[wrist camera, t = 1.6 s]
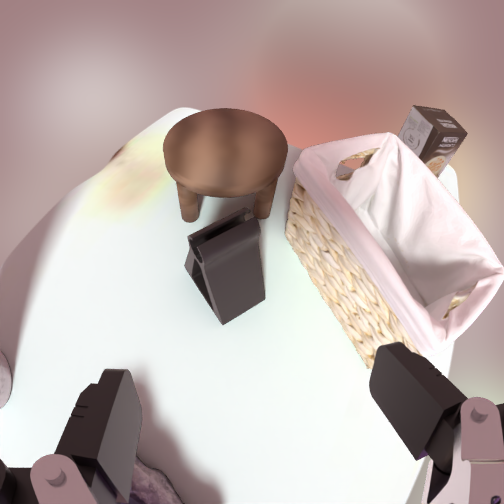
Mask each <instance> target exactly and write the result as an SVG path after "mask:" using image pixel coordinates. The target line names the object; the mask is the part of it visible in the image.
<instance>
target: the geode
mask: <svg viewBox="0 0 504 504" xmlns="http://www.w3.org/2000/svg"><path fill="white" fill-rule="evenodd" d="M116 504H184V503H183V502H182V501H181V499H180V498H179V496H178V495H177V493H176V492H175V491H174V489H173V486H172V484H171V483H170V481H169V479H168V478H167V476H166V475H165V474H164V473H163V472H162V471H160V470H158V469H150V468H148V467H147V466H145V465H144V464H143V463H142V462H141V461H140V459H139V458H138V457H137V456H136V457H135V463H134V469H133V475H132V482H131V488H130V496H129V503H121V502H116Z"/></svg>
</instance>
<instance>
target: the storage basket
mask: <svg viewBox="0 0 504 504" xmlns="http://www.w3.org/2000/svg"><path fill="white" fill-rule="evenodd" d="M357 158H364V161H363V162H362V164H361V166H360V168H358V169H356V170H355V171H354V172H352V173H349V174H344V175H340V176H338V177H336V170H337V167H338V165H339V163H340V162H342V164H344V163H345V162H344V161H345V160H349V159H357ZM293 173H294V174H295V176H296V178H295V183H294V188H293V192H292V197H291V199H290V210H289V211H288V220H287V223H286V230H285V235H286V238H287V240H288V241H289V243H290V244H291V246H292V248H293V250H294V252H295V253H296V254H297V255H298V257H299V259H300V261H301V263H302V265H303V266H304V267H305V269H306V270H307V271H308V273H309V276H310V278H311V280H312V282H313V284H314V285H315V286H316V287H317V288H318V290H319V292H320V294H321V296H322V298H323V299H324V301H325V302H326V303H327V305H328V306H329V307H330V308H331V310H332V312H333V314H334V315H335V317H336V318H337V320H338V321H339V322H340V323H341V325H342V327H343V330H344V331H345V333H346V334H347V336H348V337H349V339H350V340H351V341H352V343H353V344H354V346H355V348H356V351H357V352H358V353H359V354H360V356H361V358H362V359H363V361H364V363H365V364H366V366H367V367H366V368H367V369H369V368H370V369H373V364H374V360H375V355H376V351H377V349H378V347H379V346H381V345H385V344H390V343H394V342H398V341H399V342H402V343H403V344H404V345H405V346H406V347H407V348H408V349H409V350H410V351H411V352H415V353H417V354H419V355H421V356H430V355H431V356H432V355H435V354H436V353H438V352H439V351H442V350H444V349H445V348H446V347H447V346H449V345H450V344H451V343H452V342H453V341H454V340H455V339H456V338H458V337H459V336H460V335H461V334H462V333H463V332H464V331H465V330H466V329H467V328H468V327H469V326H470V325H471V324H472V323H473V321H475V319H476V318H477V317H478V316H479V315H480V313H481V312H482V311H483V310H484V309H485V307H486V306H487V305H488V303H489V302H490V301H491V299H492V298H493V297H494V295H495V294H496V292H497V290H498V289H499V287H500V285H501V284H502V282H503V280H504V267H503V266H502V264H501V263H500V261H499V259H498V258H497V256H496V255H495V253H494V251H493V250H492V248H491V246H490V245H489V243H488V242H487V240H486V239H485V237H484V236H483V234H482V233H481V232H480V231H479V229H478V227H477V226H476V225H475V223H474V222H473V221H472V220H471V219H470V217H469V216H468V214H467V213H466V212H465V211H464V209H463V208H462V207H461V206H460V204H459V203H458V202H457V201H456V200H455V198H454V197H453V196H452V195H451V194H450V192H449V191H448V190H447V189H446V188H445V187H444V186H443V184H442V183H441V182H440V181H439V180H438V179H437V177H436V176H435V175H434V174H433V173H432V172H431V171H430V170H429V168H428V167H427V166H426V165H425V164H424V163H423V162H422V161H421V160H420V159H419V158H418V157H417V156H416V155H415V153H414V152H413V151H412V150H411V149H410V148H409V147H408V146H407V145H405V144H404V143H403V142H402V141H401V140H400V139H399V138H398V137H397V136H396V135H395V134H393V133H390V132H386V133H377V134H369V135H363V136H357V137H353V138H347V139H342V140H336V141H331V142H327V143H323V144H318V145H314V146H310V147H308V148H305V149H303V151H302V152H301V154H300V156H299V159H298V160H297V161H296V162H295V164H294V166H293Z"/></svg>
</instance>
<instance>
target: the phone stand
mask: <svg viewBox="0 0 504 504" xmlns="http://www.w3.org/2000/svg"><path fill="white" fill-rule="evenodd" d="M249 212H250V210H249V209H248V208H243V209H241V210H239V211H237V212H235V213H233V214H231V215H229V216H227V217H225V218H223V219H221V220H219V221H217V222H215V223H213V224H211V225H209V226H207V227H205V228H203V229H201V230H199V231H197V232H195V233H193V234H191V235H189V236H188V242H189V246H190V250H189V253H188V256H187V259H186V262H185V265H184V266H185V268H186V270H187V272H188V273H189V275H190V276H191V278H192V279H193V281H194V283H195V284H196V286H197V287H198V289H199V290H200V292H201V294H202V295H203V296H204V298H205V300H206V301H207V303H208V304H209V306H210V307H211V309H212V310H213V312H214V313H215V315H216V316H217V318H218V319H219V321H220V322H221V324H222V325H224V324H226V323H228V322H229V321H231V320H232V319H234V318H236V317H237V316H239V315H241V314H242V313H244V312H246V311H247V310H249V309H250V308H252V307H254V306H255V305H257V304H258V303H260V302H262V301H263V300H265V293H264V285H263V277H262V269H261V261H260V254H259V246H258V239H259V236H260V226H259V223H258V220H257V218H256V217H253V218H251V219H249V220H248V221H246V222H245V219H244V215H245V214H247V213H249Z"/></svg>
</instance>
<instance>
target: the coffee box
mask: <svg viewBox="0 0 504 504" xmlns="http://www.w3.org/2000/svg"><path fill="white" fill-rule="evenodd" d="M466 136H467V132H466V131H465V130H464V129H463V128H462V127H461V125H460V124H459V123H458V122H457V121H456V120H455V119H454V118H452V117H451V116H450V115H449V114H448V113H447V112H446V111H445V110H441V109H435V108H429V107H422V106H415V105H413V107H412V109H411V111H410V113H409V115H408V117H407V119H406V121H405V123H404V125H403V127H402V129H401V131H400V133H399V135H398V136H397V137H398V138H399V139H400V140H401V141H402V142H403V143H404V144H405V145H407V146H408V147H409V148H410V149H411V150H412V151H413V152H414V153H415V155H416V156H417V157H418V158H419V159H420V160H421V161H422V162H423V163H424V164H425V165H426V166H427V167H428V168H429V170H430V171H431V172H432V173H433V174H434V175H435V176H436V177H437V178H438V177H439V176H440V174H441V173H442V171H443V170H444V168H445V167H446V166H447V164H448V163H449V161H450V160H451V158H452V157H453V155H454V154H455V152H456V151H457V149H458V148H459V146H460V145H461V143H462V142H463V140H464V139H465V137H466Z"/></svg>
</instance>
